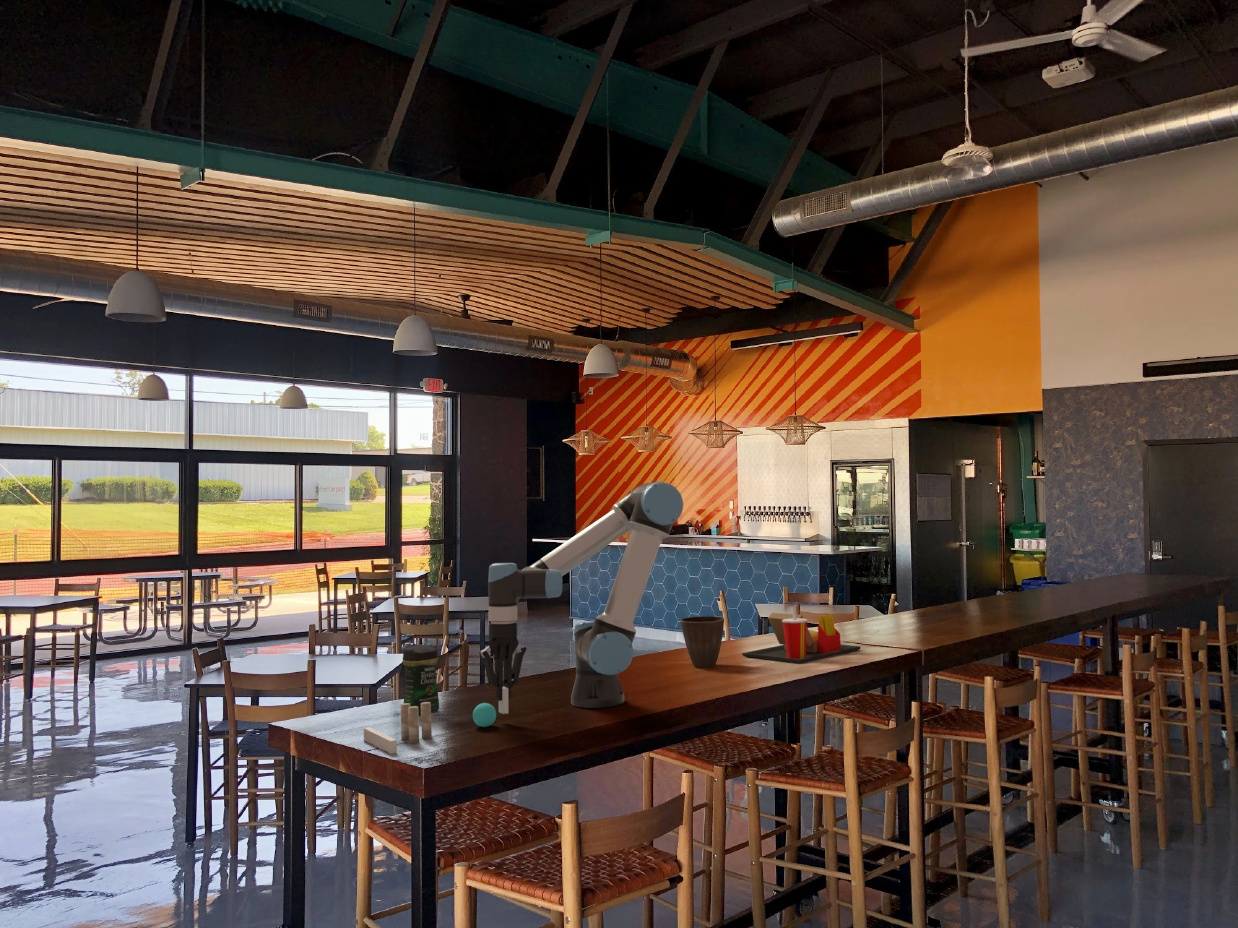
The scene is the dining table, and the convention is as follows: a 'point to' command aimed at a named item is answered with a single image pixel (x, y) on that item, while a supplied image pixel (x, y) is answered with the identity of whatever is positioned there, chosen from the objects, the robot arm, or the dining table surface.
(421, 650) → the coffee jar
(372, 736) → the back wall
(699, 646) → the plant pot
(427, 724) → the front pin
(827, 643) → the fast food meal
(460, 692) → the dining table surface
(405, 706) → the pin
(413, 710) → the pin
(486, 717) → the ball
